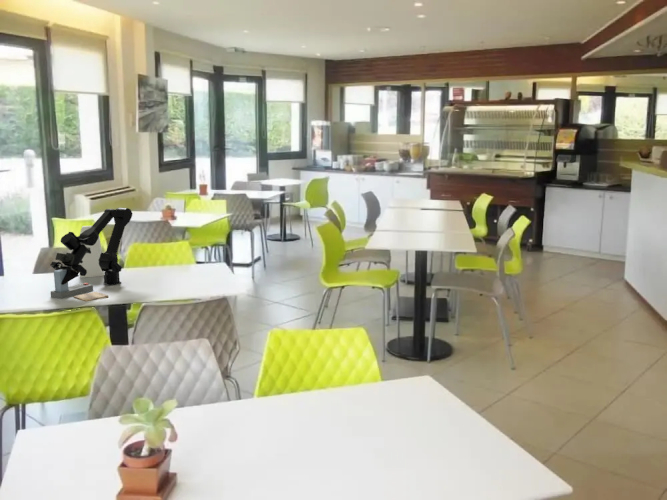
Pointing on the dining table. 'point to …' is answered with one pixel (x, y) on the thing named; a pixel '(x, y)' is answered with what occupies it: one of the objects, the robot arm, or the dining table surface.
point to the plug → (60, 281)
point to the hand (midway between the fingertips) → (58, 283)
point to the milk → (92, 258)
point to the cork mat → (90, 296)
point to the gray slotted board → (73, 290)
